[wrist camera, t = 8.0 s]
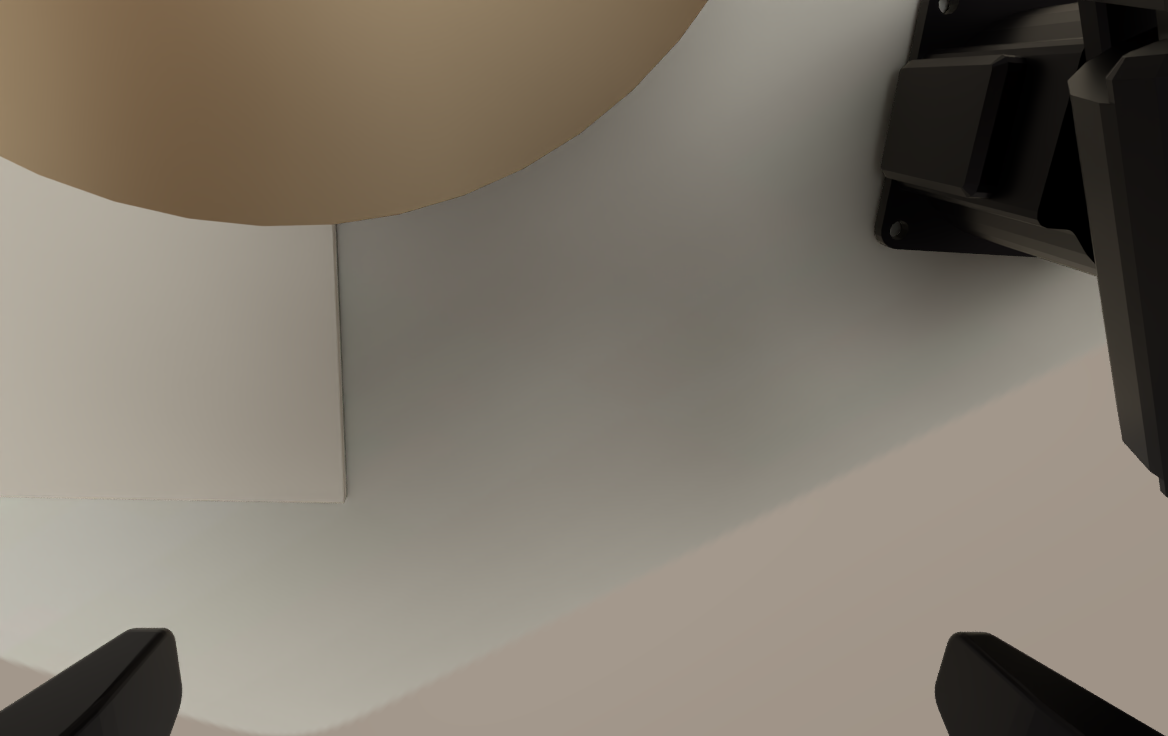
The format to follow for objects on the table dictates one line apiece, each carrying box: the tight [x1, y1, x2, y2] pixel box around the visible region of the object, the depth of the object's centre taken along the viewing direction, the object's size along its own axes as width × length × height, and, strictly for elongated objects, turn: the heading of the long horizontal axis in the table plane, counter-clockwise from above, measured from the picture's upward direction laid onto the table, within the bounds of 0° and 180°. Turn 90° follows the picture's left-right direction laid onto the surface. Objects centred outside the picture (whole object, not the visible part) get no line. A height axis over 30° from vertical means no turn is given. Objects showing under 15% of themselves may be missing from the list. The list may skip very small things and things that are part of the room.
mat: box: [0, 156, 347, 503], centre depth 19 cm, size 13×13×1 cm
